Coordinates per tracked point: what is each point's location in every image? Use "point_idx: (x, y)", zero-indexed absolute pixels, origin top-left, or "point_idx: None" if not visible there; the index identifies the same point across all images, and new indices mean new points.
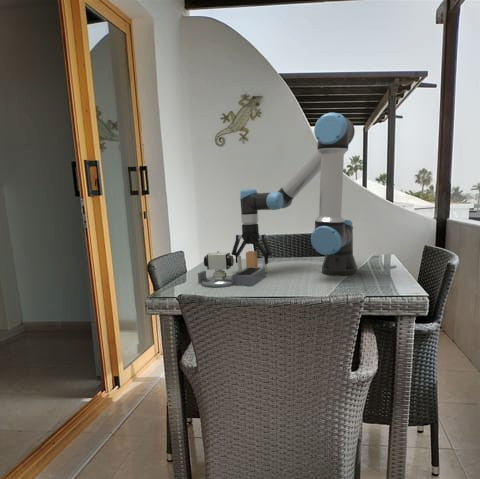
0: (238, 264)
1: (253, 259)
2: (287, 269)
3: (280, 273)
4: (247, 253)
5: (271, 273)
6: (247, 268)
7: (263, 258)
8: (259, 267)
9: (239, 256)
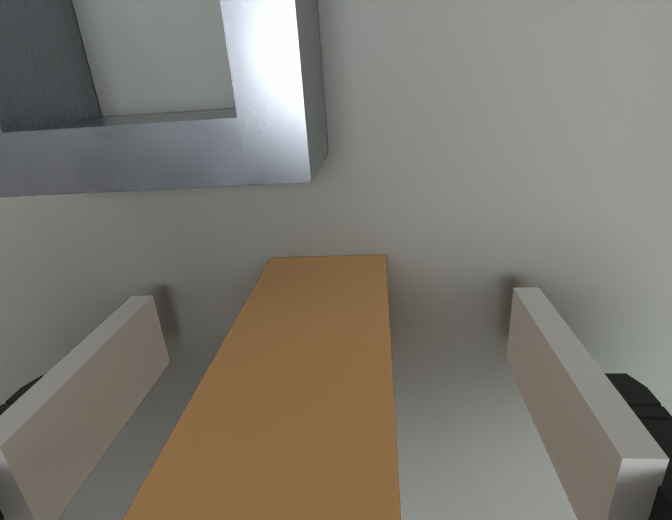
0: (561, 338)
1: (215, 388)
2: None
3: (20, 350)
4: (338, 514)
5: None
6: (236, 52)
7: (3, 424)
8: (68, 191)
9: (613, 492)
